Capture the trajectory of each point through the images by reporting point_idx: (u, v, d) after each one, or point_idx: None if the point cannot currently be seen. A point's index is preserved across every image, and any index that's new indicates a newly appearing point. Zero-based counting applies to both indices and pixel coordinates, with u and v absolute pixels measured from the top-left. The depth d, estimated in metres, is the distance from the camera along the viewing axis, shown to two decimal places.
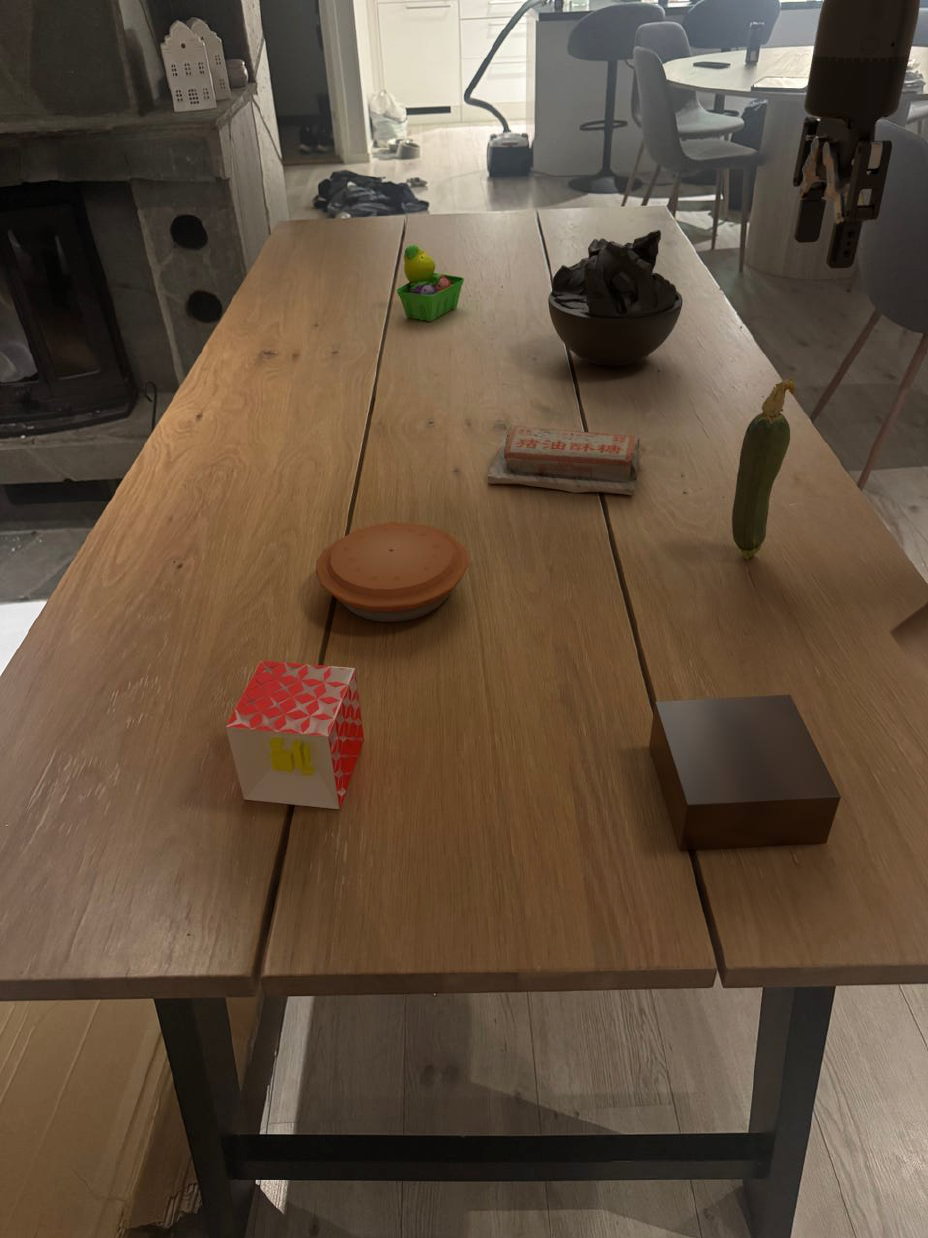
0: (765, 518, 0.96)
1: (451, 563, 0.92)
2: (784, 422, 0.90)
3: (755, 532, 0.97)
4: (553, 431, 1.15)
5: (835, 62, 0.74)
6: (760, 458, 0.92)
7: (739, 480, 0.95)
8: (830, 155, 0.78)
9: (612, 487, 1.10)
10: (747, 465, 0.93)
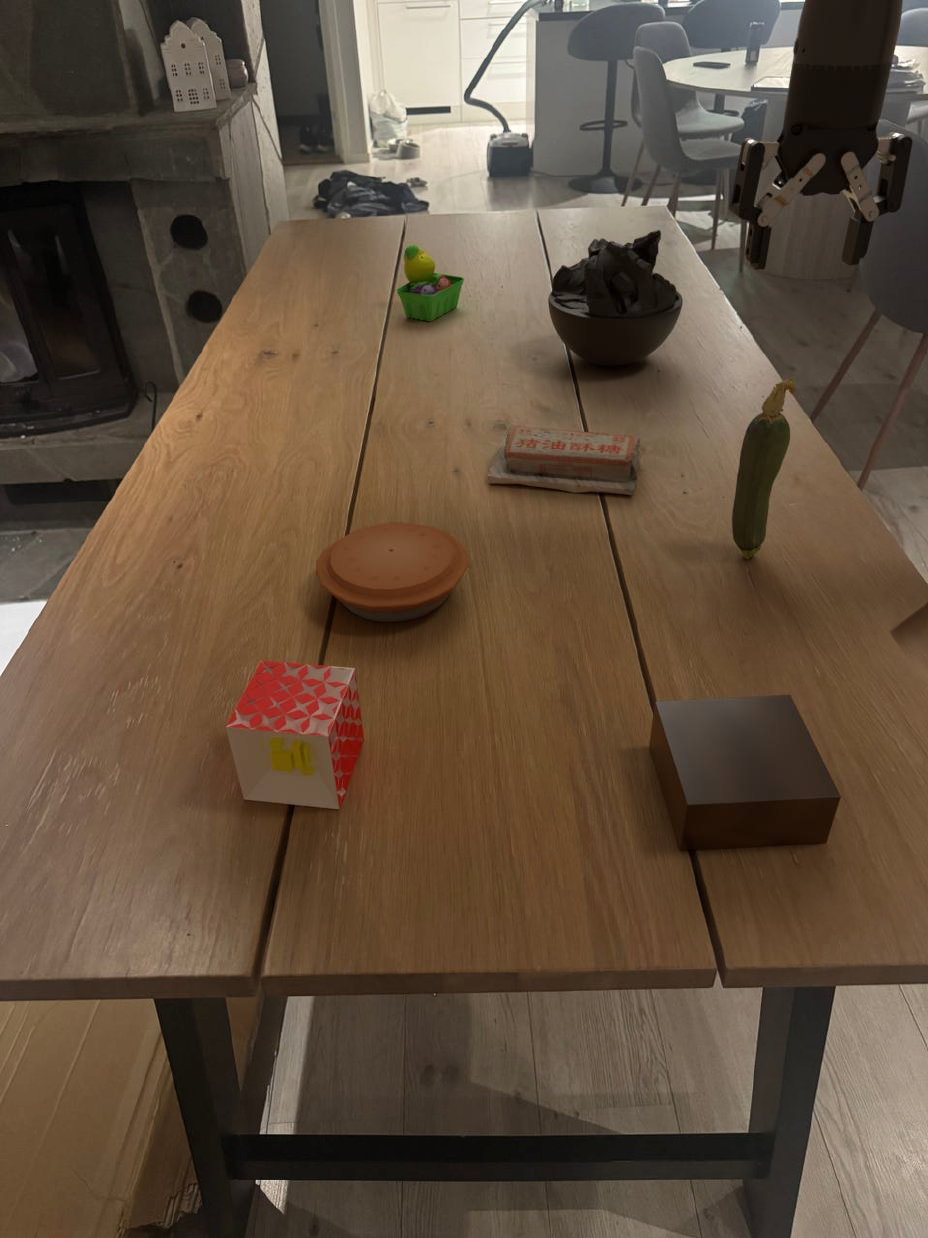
0: (765, 518, 0.96)
1: (451, 563, 0.92)
2: (784, 422, 0.90)
3: (755, 532, 0.97)
4: (553, 431, 1.15)
5: None
6: (760, 458, 0.92)
7: (739, 480, 0.95)
8: None
9: (612, 487, 1.10)
10: (747, 465, 0.93)
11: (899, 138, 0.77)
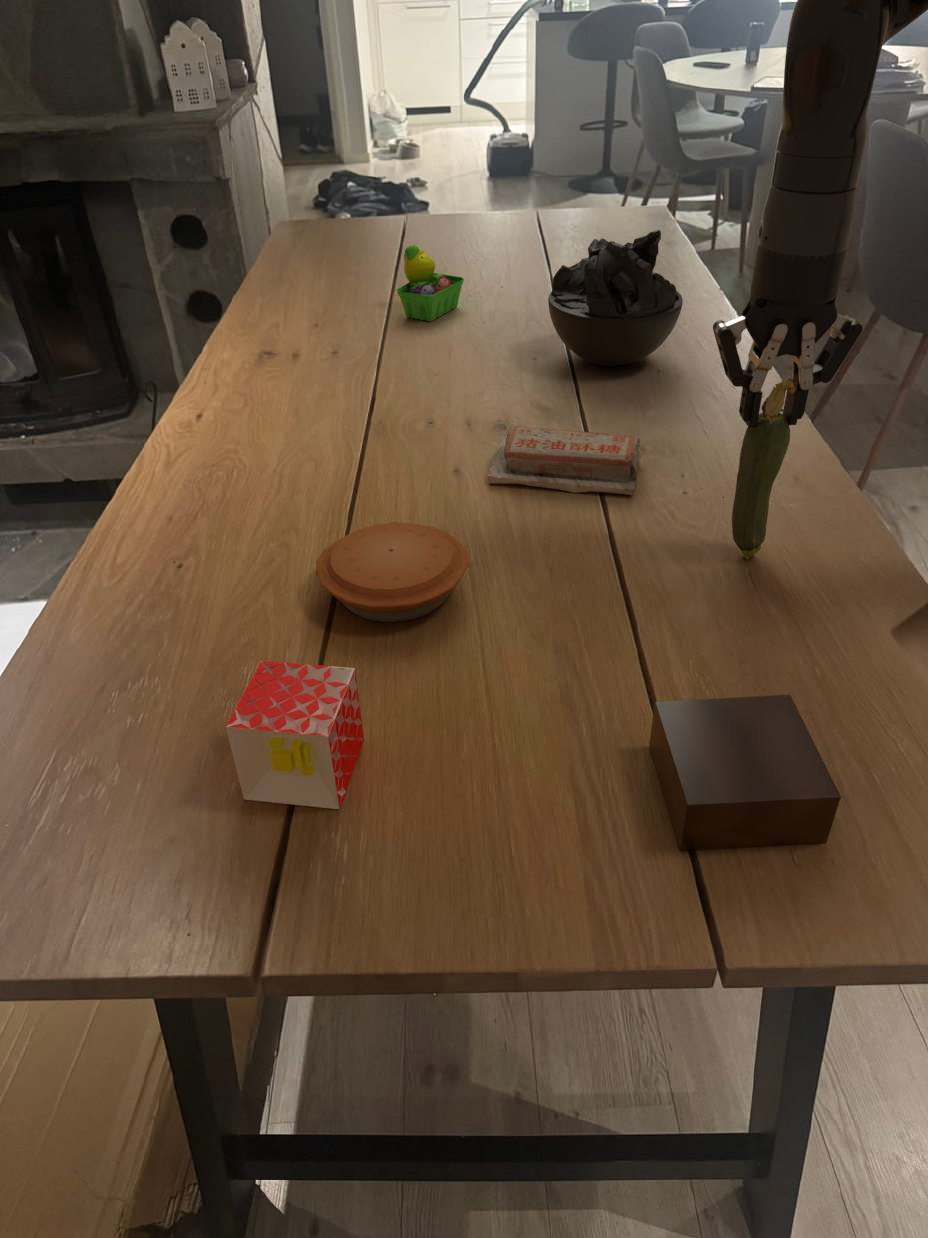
0: (765, 518, 0.96)
1: (450, 563, 0.92)
2: (784, 422, 0.90)
3: (755, 532, 0.97)
4: (553, 431, 1.15)
5: None
6: (760, 458, 0.92)
7: (739, 480, 0.95)
8: None
9: (612, 487, 1.10)
10: (747, 465, 0.93)
11: (853, 323, 0.85)
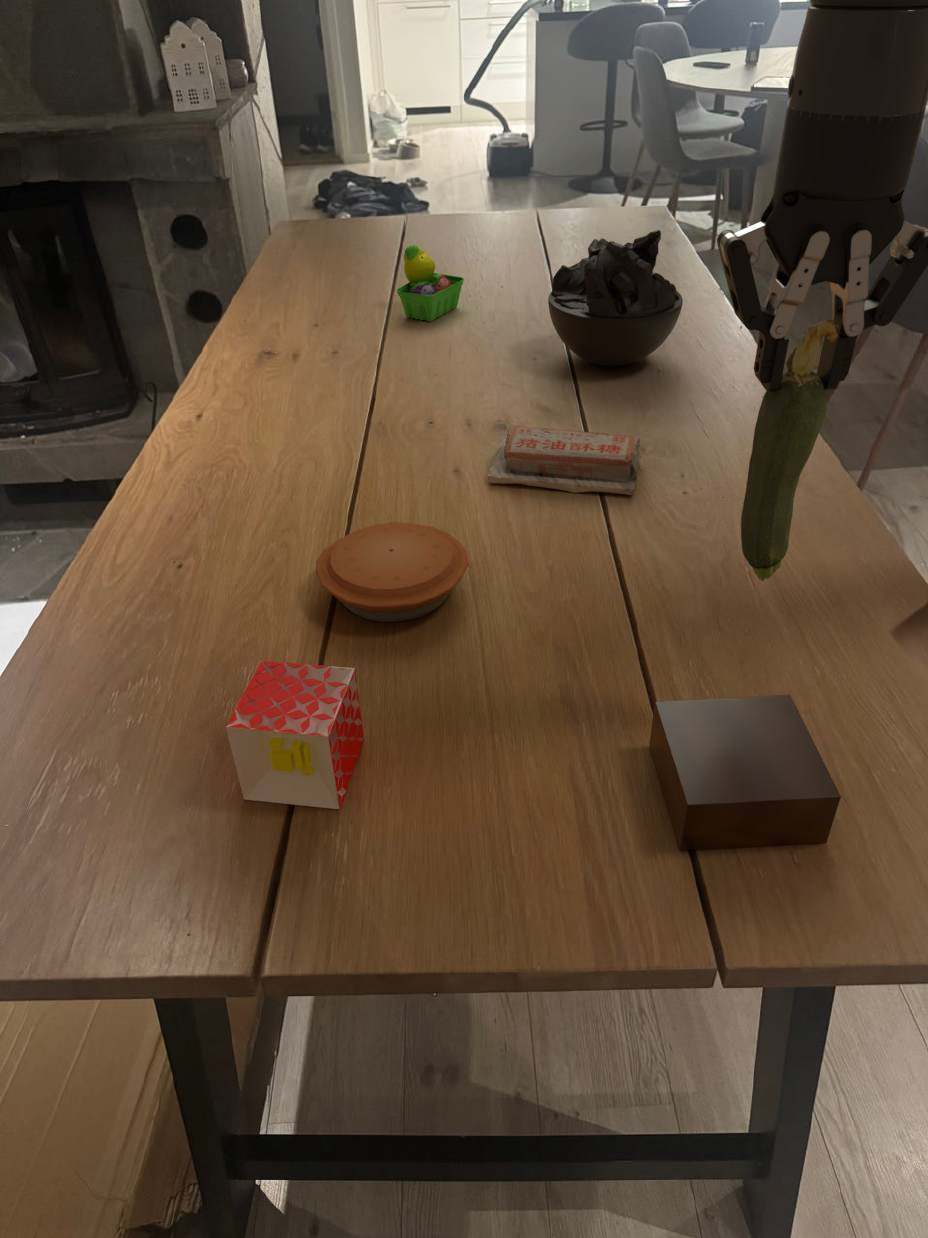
0: (788, 524, 0.68)
1: (450, 563, 0.92)
2: (819, 385, 0.62)
3: (774, 543, 0.69)
4: (553, 431, 1.15)
5: None
6: (782, 437, 0.64)
7: (753, 469, 0.67)
8: None
9: (612, 487, 1.10)
10: (764, 448, 0.65)
11: (927, 233, 0.57)
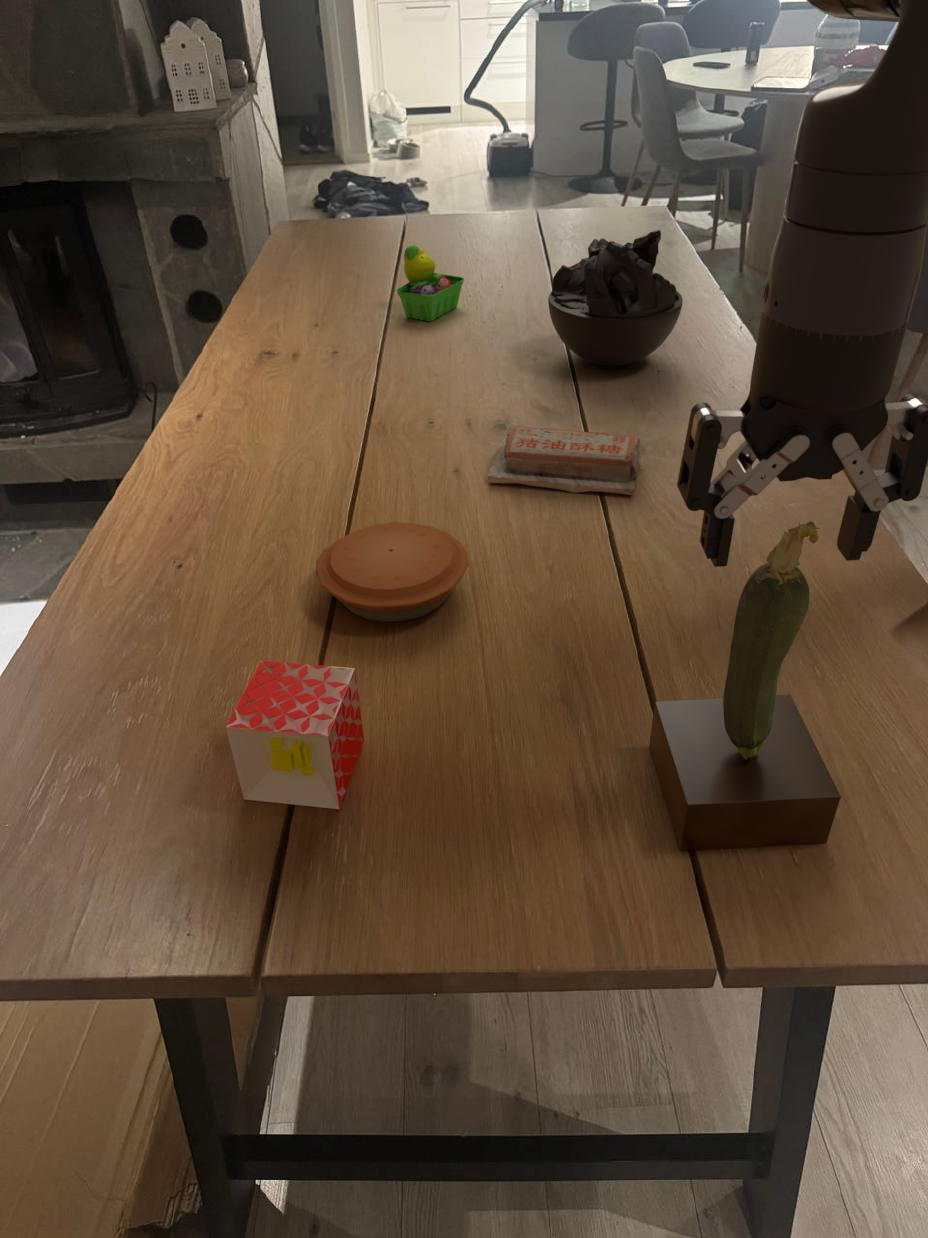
0: (771, 707, 0.66)
1: (450, 563, 0.92)
2: (801, 582, 0.60)
3: (757, 726, 0.66)
4: (553, 431, 1.15)
5: None
6: (764, 632, 0.61)
7: (734, 655, 0.64)
8: None
9: (612, 487, 1.10)
10: (745, 639, 0.63)
11: (918, 411, 0.53)
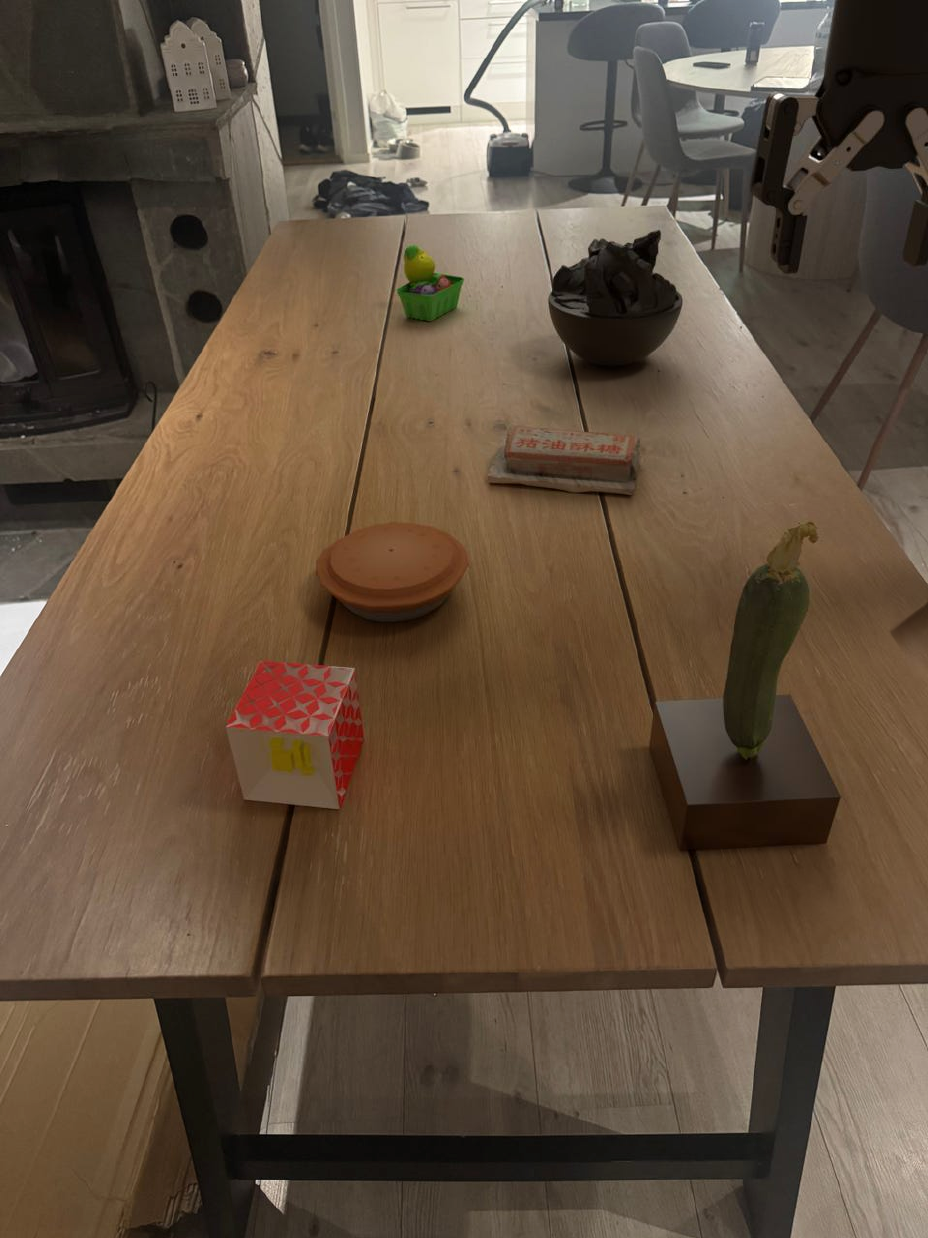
0: (771, 707, 0.66)
1: (450, 563, 0.92)
2: (800, 582, 0.60)
3: (757, 726, 0.66)
4: (553, 431, 1.15)
5: None
6: (763, 632, 0.61)
7: (734, 655, 0.64)
8: None
9: (612, 487, 1.10)
10: (745, 639, 0.63)
11: None
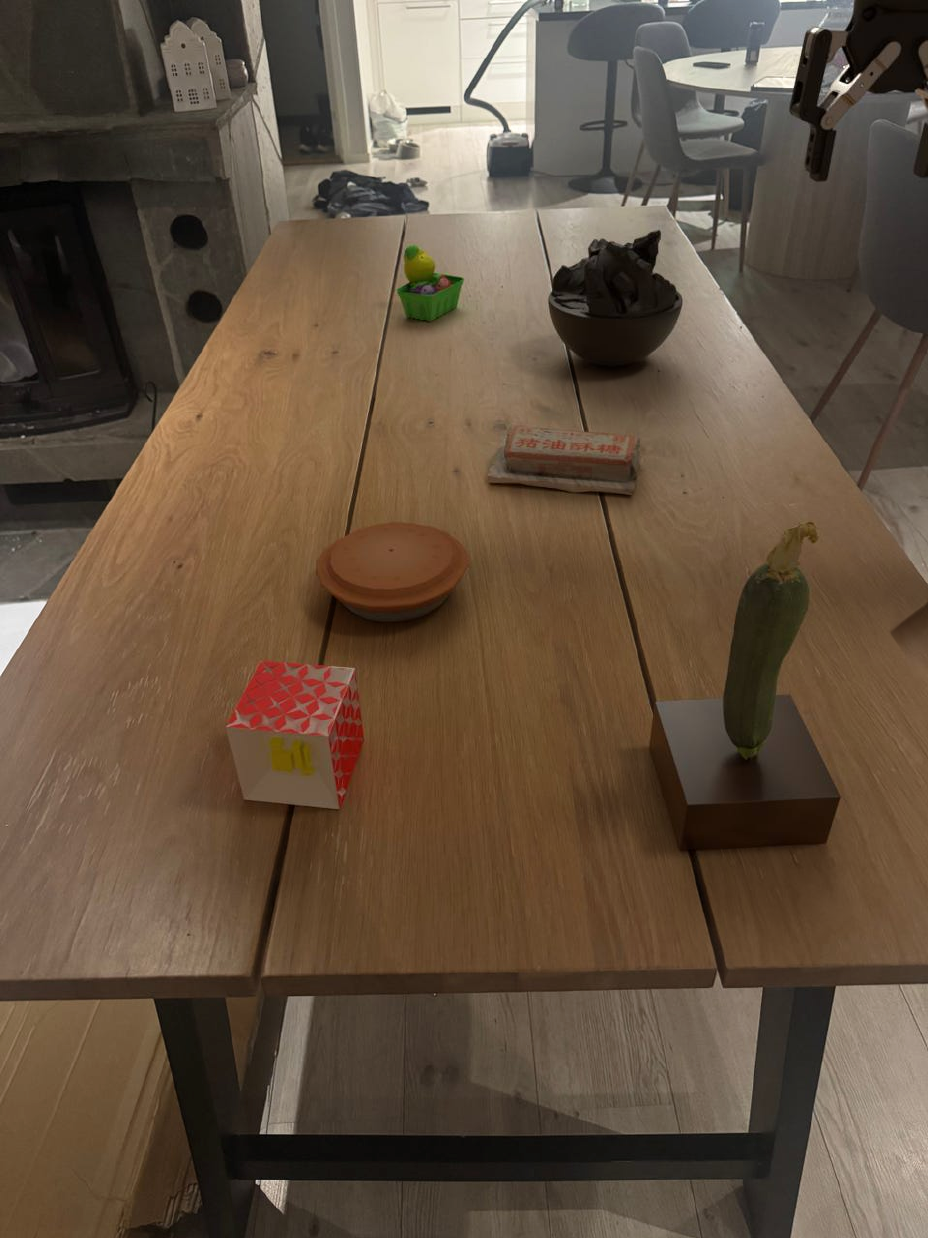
0: (771, 707, 0.66)
1: (450, 563, 0.92)
2: (800, 582, 0.60)
3: (757, 726, 0.66)
4: (553, 431, 1.15)
5: None
6: (763, 632, 0.61)
7: (734, 655, 0.64)
8: None
9: (612, 487, 1.10)
10: (745, 638, 0.63)
11: None
